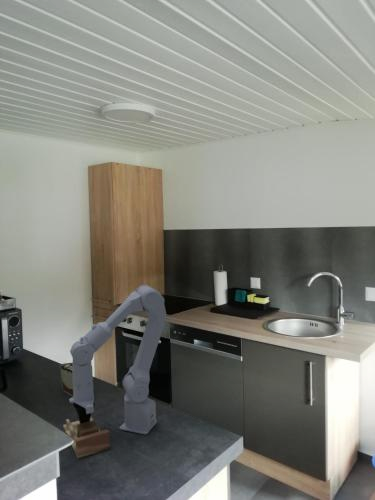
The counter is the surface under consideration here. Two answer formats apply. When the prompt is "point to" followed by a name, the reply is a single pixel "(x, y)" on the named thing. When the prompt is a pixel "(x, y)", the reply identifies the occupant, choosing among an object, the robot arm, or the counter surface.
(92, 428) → the block
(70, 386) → the food container
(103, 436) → the track
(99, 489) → the counter surface
